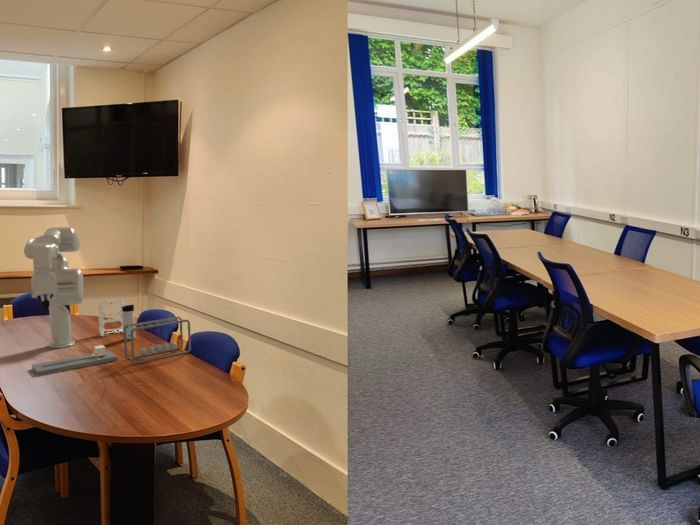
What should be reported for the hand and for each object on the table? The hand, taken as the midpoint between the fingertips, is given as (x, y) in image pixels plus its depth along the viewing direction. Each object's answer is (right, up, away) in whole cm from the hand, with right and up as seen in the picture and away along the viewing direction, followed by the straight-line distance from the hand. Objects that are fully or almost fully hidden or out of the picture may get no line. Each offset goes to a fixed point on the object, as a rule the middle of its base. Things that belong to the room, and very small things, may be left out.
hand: (45, 308), depth 240 cm
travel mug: (+20, -22, +47) cm, 56 cm away
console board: (+13, -27, +2) cm, 30 cm away
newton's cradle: (+48, -26, +15) cm, 57 cm away
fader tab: (+22, -24, +9) cm, 33 cm away
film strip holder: (+3, -21, +61) cm, 64 cm away
